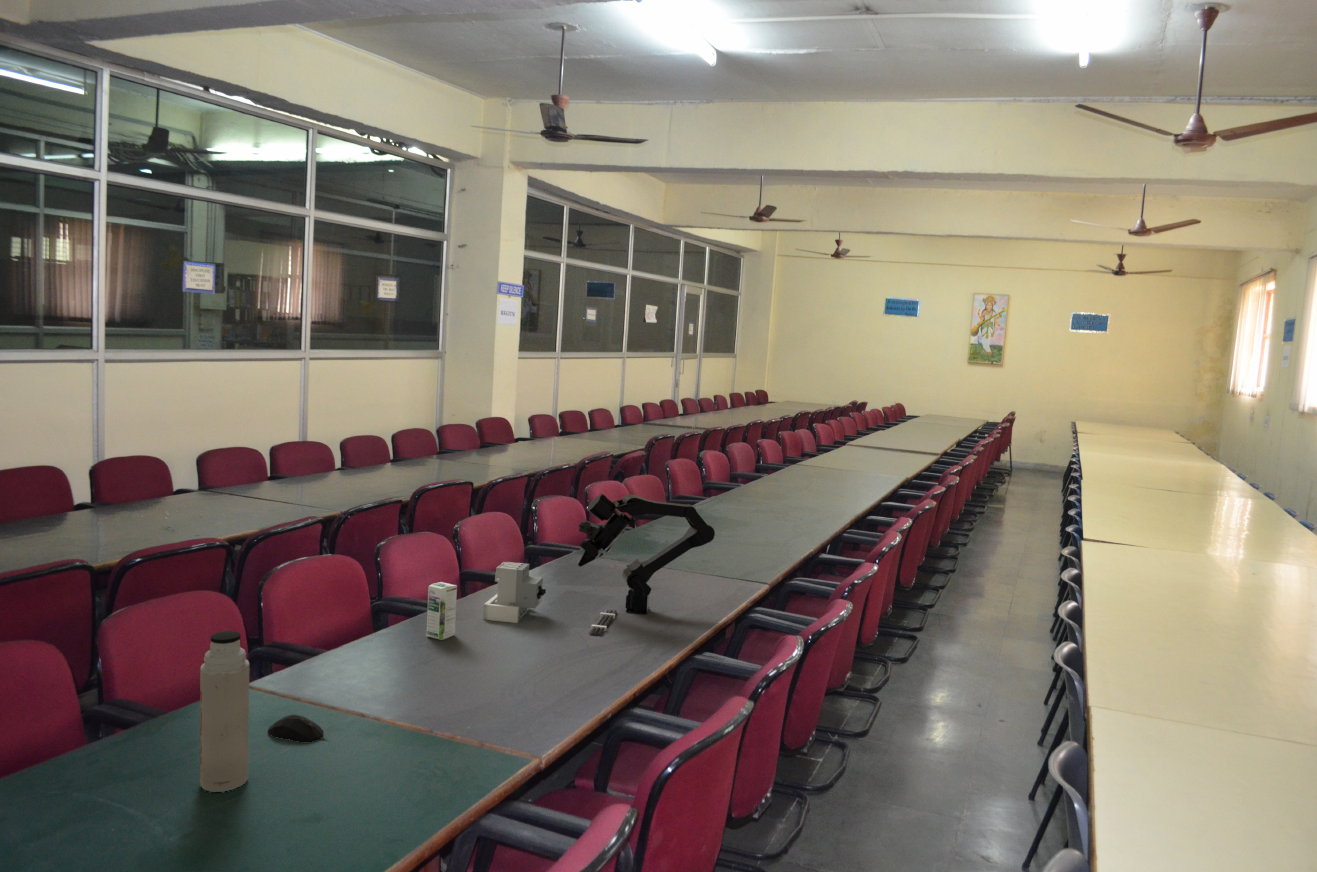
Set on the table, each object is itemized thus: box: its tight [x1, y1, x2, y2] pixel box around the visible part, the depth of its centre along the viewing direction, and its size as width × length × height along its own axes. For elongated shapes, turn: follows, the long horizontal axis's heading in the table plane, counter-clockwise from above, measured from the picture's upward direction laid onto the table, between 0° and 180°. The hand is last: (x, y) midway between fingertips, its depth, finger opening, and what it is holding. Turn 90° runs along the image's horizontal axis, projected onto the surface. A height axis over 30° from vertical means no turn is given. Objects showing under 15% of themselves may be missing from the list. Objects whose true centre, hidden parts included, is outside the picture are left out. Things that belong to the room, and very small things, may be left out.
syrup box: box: [425, 581, 458, 641], centre depth 247 cm, size 6×6×14 cm
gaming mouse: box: [267, 714, 327, 743], centre depth 184 cm, size 6×15×4 cm, turn 73°
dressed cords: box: [588, 608, 618, 637], centre depth 266 cm, size 4×22×1 cm, turn 171°
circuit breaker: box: [494, 561, 547, 620], centre depth 269 cm, size 8×14×15 cm, turn 82°
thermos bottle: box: [199, 630, 250, 791], centre depth 162 cm, size 8×8×28 cm
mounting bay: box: [482, 593, 532, 624], centre depth 270 cm, size 10×14×4 cm
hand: (579, 565), depth 278 cm, fingers closed
